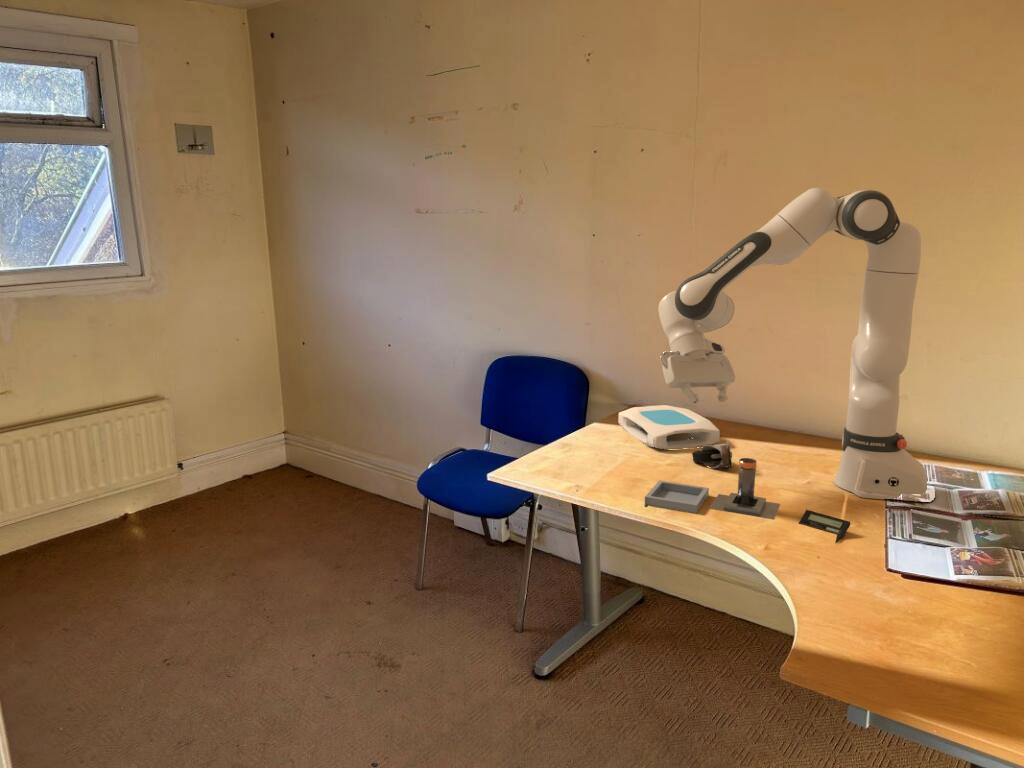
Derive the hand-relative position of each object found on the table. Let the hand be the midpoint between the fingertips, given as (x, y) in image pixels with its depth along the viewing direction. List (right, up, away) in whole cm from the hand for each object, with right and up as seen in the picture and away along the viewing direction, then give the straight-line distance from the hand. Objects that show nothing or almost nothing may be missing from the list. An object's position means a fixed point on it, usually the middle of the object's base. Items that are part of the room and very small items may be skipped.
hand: (709, 401), depth 179 cm
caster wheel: (+6, -18, +21) cm, 28 cm away
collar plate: (+6, -24, -9) cm, 27 cm away
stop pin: (+6, -24, -9) cm, 26 cm away
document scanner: (-1, -12, +48) cm, 49 cm away
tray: (-9, -24, -5) cm, 26 cm away
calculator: (+16, -28, -23) cm, 40 cm away
